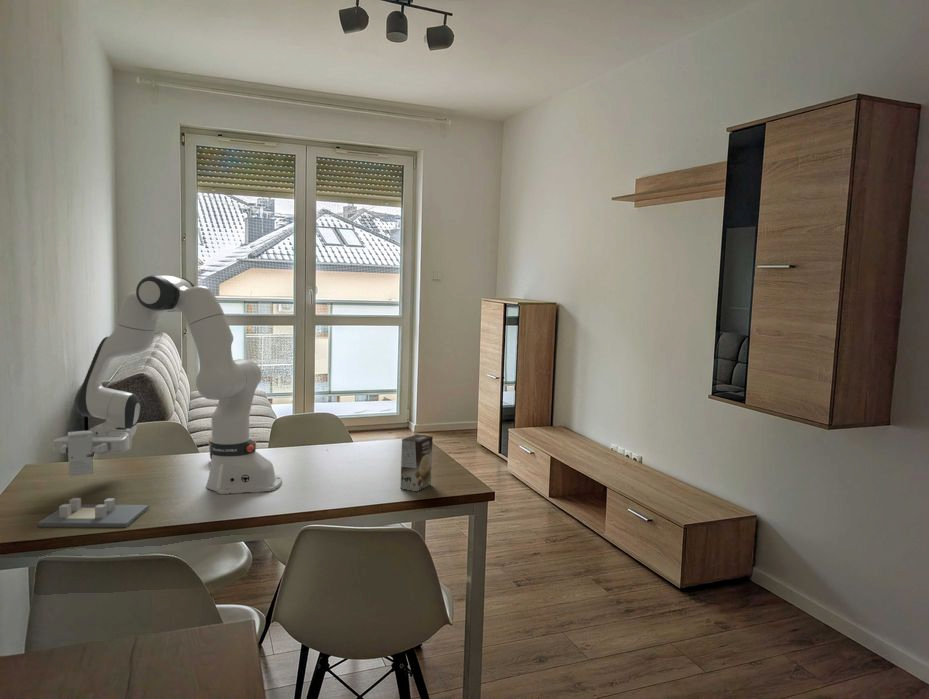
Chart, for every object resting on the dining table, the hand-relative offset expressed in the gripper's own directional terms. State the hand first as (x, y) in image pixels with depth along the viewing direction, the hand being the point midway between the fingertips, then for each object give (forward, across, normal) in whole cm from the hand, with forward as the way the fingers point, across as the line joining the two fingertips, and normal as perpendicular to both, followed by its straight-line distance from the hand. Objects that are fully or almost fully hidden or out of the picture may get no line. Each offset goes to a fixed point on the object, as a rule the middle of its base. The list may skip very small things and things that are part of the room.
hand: (78, 450), depth 186 cm
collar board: (+13, +10, +15) cm, 22 cm away
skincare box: (-1, 0, +7) cm, 7 cm away
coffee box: (-16, +95, +17) cm, 98 cm away
